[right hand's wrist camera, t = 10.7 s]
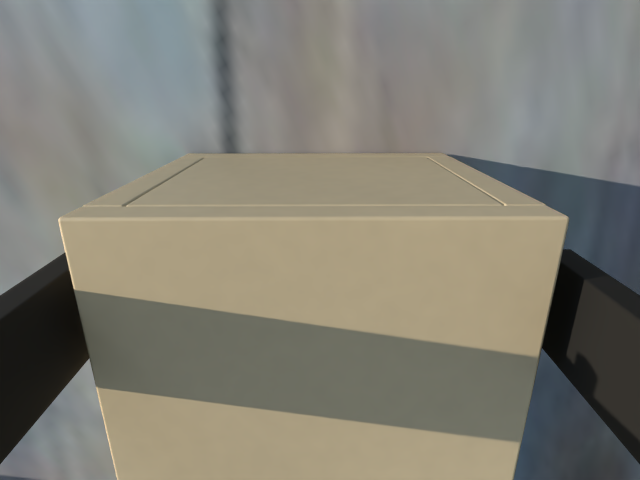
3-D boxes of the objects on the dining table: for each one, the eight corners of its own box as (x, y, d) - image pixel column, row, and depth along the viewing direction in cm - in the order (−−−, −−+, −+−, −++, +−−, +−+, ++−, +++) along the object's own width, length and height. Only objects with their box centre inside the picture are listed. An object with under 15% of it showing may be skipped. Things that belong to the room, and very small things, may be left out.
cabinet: (410, 487, 25) (463, 715, 16) (224, 488, 25) (170, 717, 16) (444, 153, 18) (572, 216, 9) (187, 153, 18) (54, 217, 9)
